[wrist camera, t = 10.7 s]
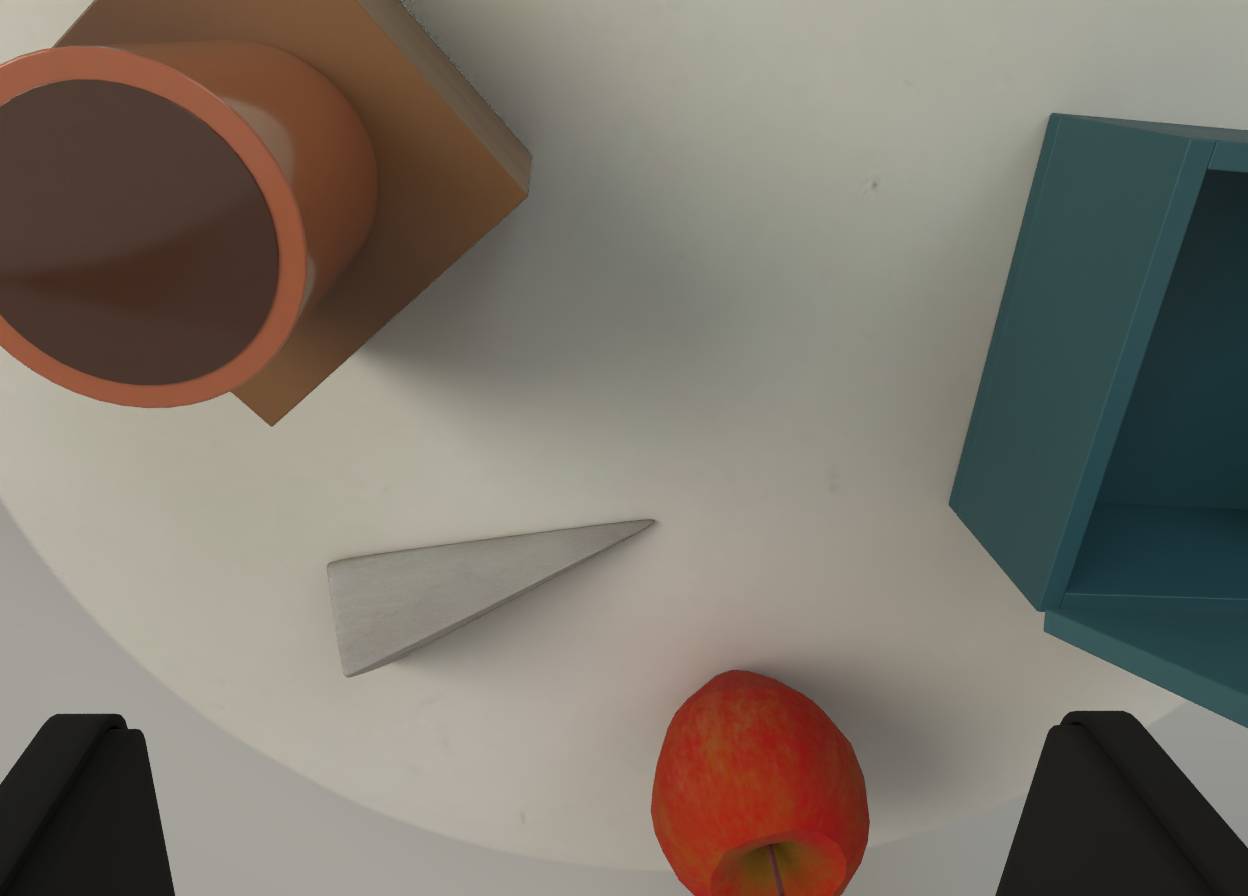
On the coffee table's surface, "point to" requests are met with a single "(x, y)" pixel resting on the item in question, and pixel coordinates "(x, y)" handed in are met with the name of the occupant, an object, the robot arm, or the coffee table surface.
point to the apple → (758, 793)
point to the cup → (172, 212)
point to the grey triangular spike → (447, 587)
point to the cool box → (1120, 376)
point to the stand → (403, 147)
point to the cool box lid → (1168, 651)
